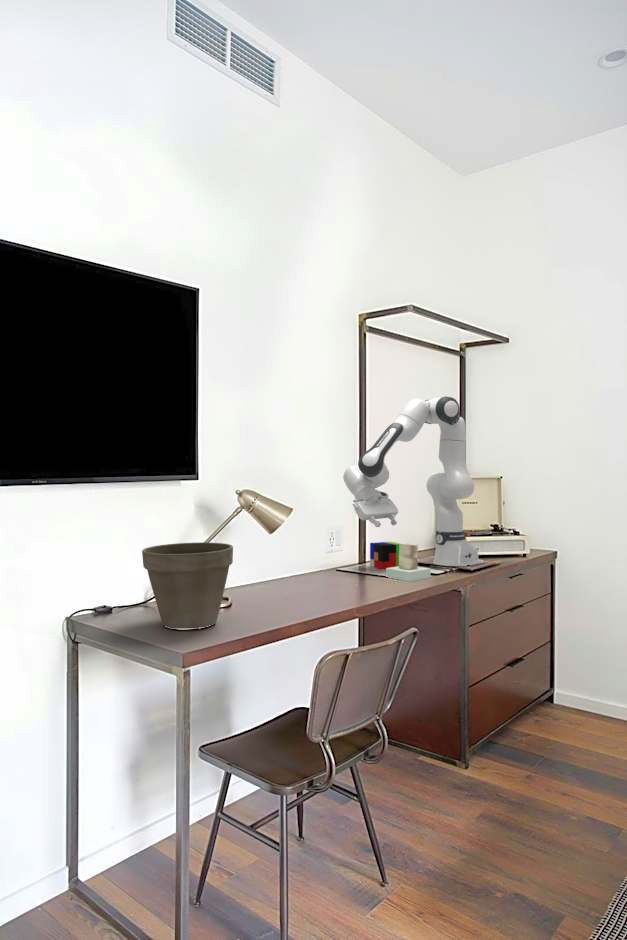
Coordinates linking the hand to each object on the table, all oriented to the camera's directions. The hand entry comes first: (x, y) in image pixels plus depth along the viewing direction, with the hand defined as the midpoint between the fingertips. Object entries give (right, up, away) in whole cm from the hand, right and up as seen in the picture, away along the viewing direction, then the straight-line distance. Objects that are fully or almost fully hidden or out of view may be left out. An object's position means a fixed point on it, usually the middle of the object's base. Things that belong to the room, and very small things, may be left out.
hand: (387, 525), depth 270 cm
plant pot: (-64, -21, -79) cm, 104 cm away
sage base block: (+7, -20, -8) cm, 23 cm away
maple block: (+7, -16, -8) cm, 19 cm away
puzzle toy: (+2, -19, +17) cm, 26 cm away
